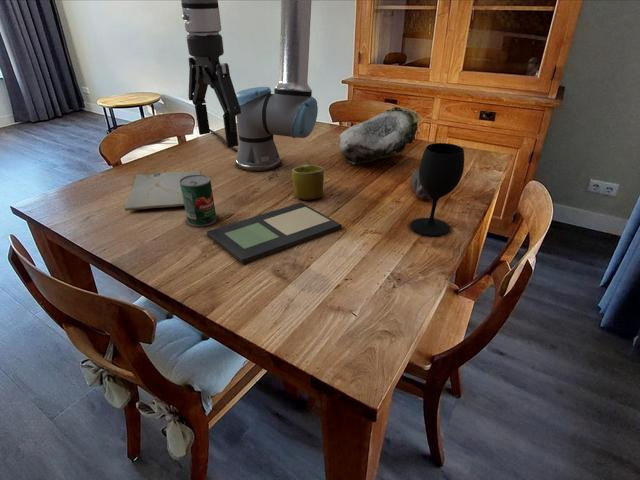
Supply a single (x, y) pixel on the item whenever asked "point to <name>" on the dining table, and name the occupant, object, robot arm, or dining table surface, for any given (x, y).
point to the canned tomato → (198, 200)
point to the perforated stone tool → (418, 186)
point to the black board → (272, 231)
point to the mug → (308, 182)
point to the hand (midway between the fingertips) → (218, 140)
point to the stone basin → (379, 136)
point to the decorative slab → (157, 190)
